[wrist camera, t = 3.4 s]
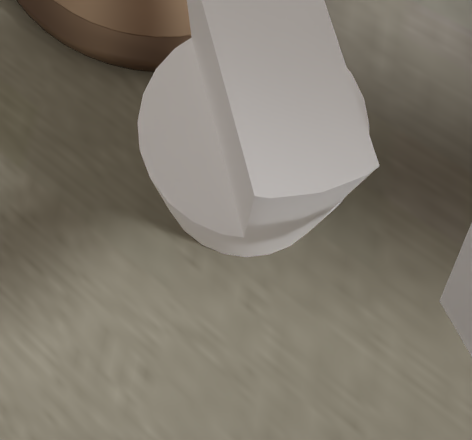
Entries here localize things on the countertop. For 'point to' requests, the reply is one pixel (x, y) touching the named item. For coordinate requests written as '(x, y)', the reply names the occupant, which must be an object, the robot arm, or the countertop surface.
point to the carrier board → (115, 28)
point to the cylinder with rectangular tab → (255, 125)
